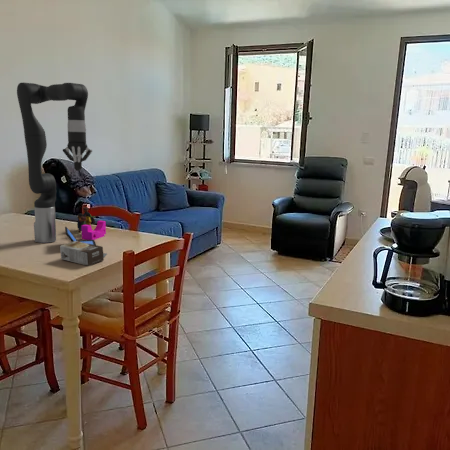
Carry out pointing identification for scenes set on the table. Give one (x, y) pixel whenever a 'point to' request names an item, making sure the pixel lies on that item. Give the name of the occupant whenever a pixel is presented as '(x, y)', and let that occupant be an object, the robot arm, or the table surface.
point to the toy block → (94, 231)
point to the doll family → (84, 219)
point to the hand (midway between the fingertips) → (78, 170)
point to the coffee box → (82, 253)
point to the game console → (76, 239)
